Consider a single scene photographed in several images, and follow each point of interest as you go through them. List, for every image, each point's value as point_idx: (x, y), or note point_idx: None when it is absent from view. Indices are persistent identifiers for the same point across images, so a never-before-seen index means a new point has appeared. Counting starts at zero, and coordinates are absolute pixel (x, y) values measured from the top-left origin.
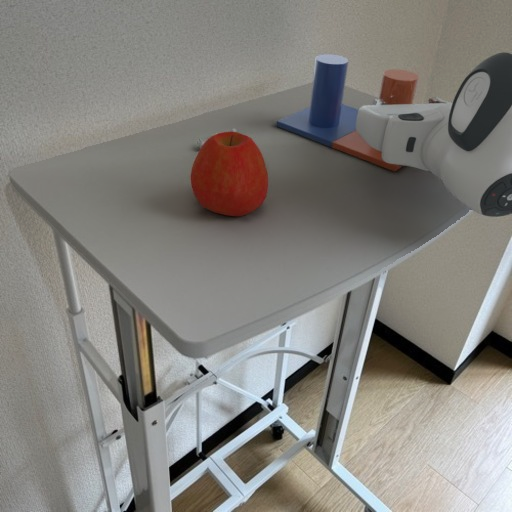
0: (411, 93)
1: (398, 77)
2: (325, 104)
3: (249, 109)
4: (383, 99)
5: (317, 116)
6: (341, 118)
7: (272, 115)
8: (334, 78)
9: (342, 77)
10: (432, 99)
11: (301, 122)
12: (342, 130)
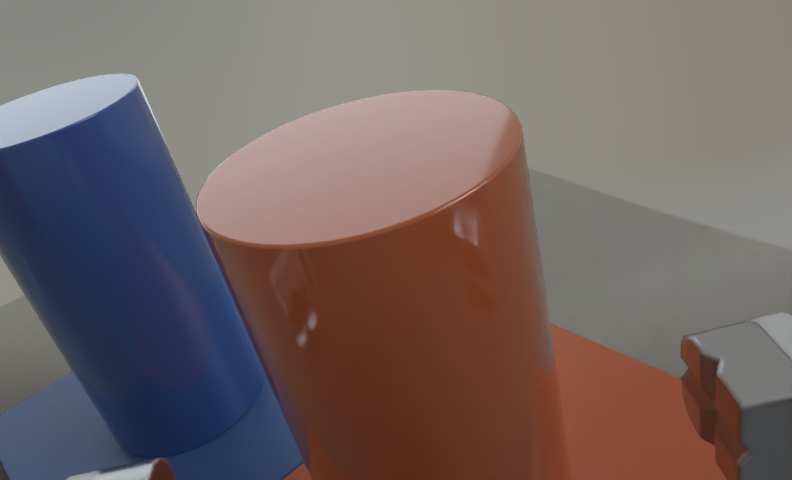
0: (470, 328)
1: (294, 201)
2: (87, 362)
3: (3, 331)
4: (146, 477)
5: (98, 410)
6: None
7: (52, 357)
8: (41, 230)
9: (98, 210)
10: (718, 363)
11: (80, 421)
12: (233, 472)
